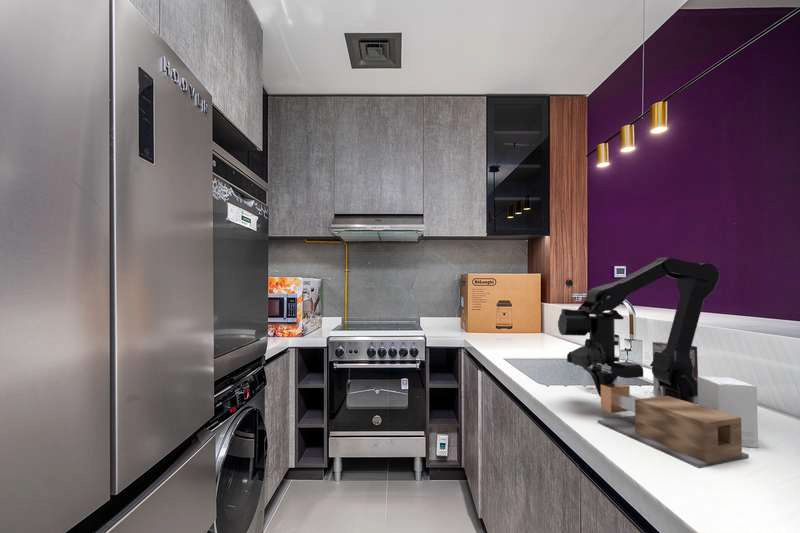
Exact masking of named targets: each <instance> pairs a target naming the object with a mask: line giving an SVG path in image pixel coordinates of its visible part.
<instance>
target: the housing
mask: <svg viewBox="0 0 800 533" xmlns="http://www.w3.org/2000/svg"><path fill="white" fill-rule="evenodd" d="M597 424H599V425H602V426H604V427H606V428H608V429H611V430H612V431H615V432H617V433H619V434H622V435H624V436H627V437H629V438H630V439H633V440H635V441H638V442H640V443H642V444H644V445H645V446H649V447H650V448H652V449H653V448H654V449H656V450H658V451H660V452H663V453H665V454H666V455H669V456H671V457H673V458H676V459H679V460H680V461H683V462H684V463H687V464H690V465H692V466H694V467H696V468H698V469H701V468H704V467H705V468H707V467H710V466H715V465H719V464H724V463H729V462H730V463H731V462H734V461H739V460H745V459H749V456H750V455H749V453H746V452H743V446H742V434H741V417H737V416H734V415H730V414H727V413H724V412H720V411H717V410H714V409H710V408H707V407H704V406H700V405H698V404H696V403H695V404H693V403H690V402H687V401H683V400H680V399H677V398H673V397H670V396H660V397H656V396H653V397H652V396H651V397H645V398H644V397H643V398H641V399H635V412H634V415H628V416H627V415H626V416H621V417H611V418H604V419H598V420H597Z"/></svg>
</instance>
